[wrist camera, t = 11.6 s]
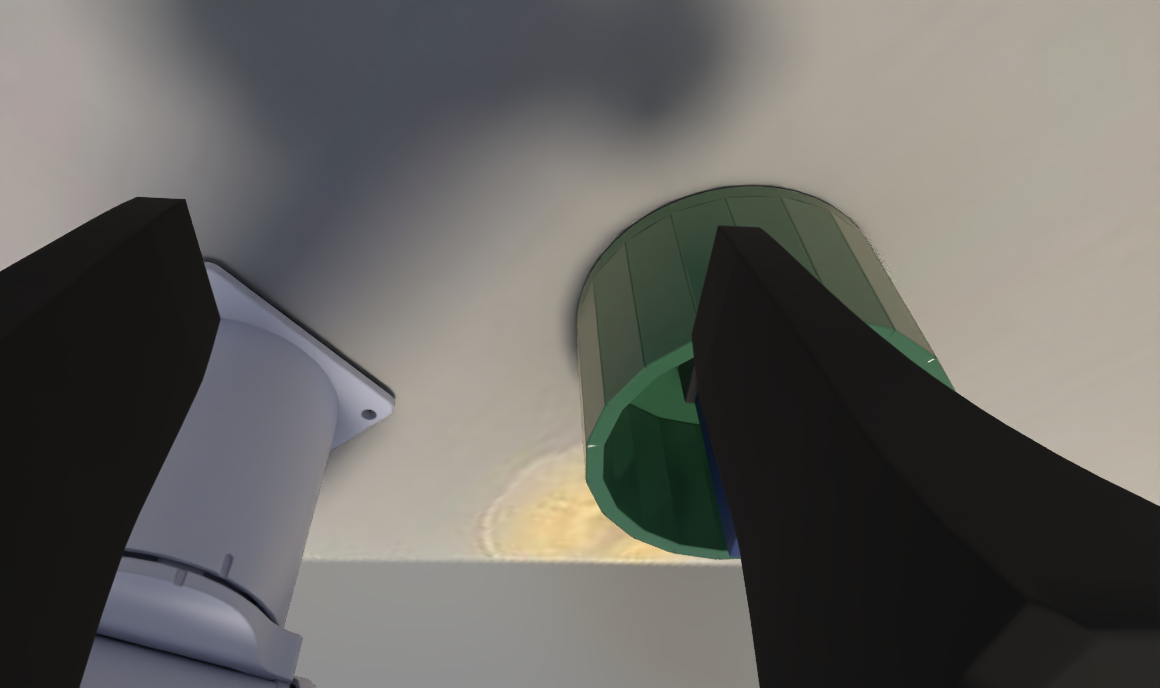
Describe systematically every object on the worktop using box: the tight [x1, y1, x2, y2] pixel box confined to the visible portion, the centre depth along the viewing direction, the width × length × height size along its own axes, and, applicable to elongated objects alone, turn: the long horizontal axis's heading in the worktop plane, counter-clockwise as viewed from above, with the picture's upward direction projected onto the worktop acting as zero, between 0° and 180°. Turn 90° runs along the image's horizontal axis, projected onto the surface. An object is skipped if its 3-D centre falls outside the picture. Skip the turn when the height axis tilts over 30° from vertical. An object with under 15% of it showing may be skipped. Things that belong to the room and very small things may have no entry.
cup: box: [576, 186, 955, 560], centre depth 23 cm, size 10×10×6 cm
